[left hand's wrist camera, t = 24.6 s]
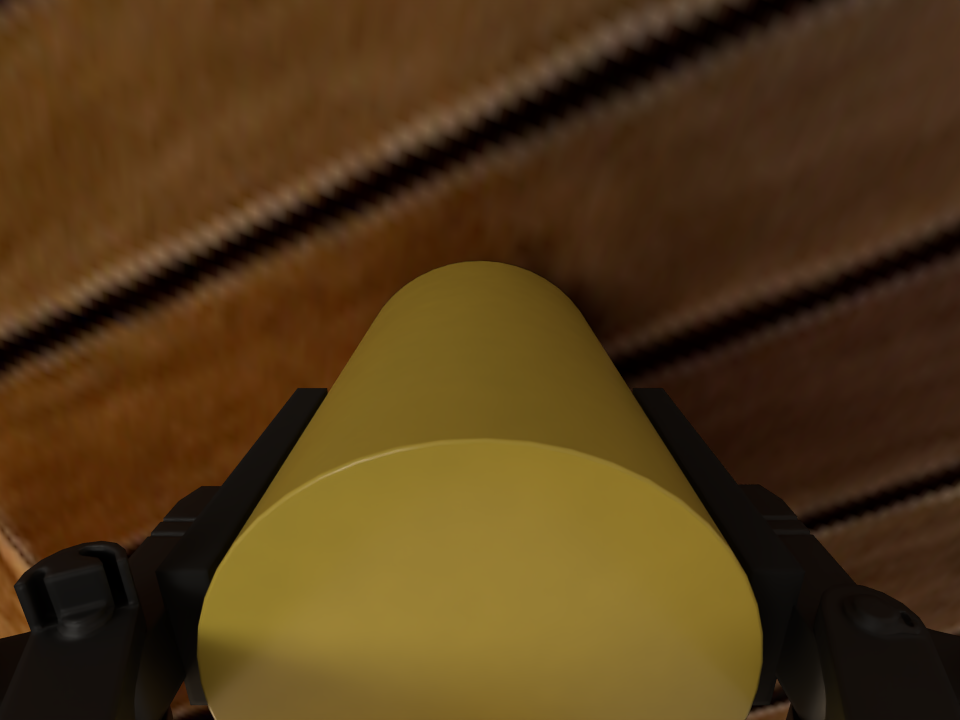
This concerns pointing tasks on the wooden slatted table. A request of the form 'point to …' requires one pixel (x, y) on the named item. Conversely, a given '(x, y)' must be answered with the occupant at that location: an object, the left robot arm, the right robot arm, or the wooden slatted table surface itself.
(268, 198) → the wooden slatted table surface
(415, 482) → the canister
